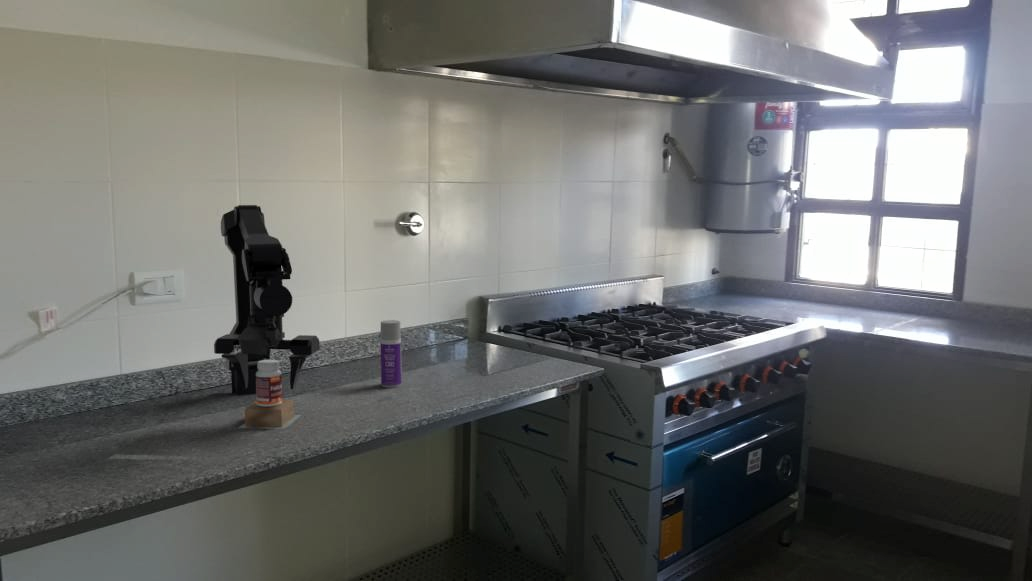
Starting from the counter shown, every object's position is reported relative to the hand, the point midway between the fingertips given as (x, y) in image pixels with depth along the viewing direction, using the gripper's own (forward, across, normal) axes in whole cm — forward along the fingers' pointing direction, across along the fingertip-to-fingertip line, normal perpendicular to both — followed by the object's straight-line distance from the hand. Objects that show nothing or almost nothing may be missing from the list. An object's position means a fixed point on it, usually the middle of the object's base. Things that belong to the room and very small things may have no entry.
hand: (269, 388), depth 153 cm
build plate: (+7, +3, +1) cm, 8 cm away
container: (+7, +17, +32) cm, 37 cm away
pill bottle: (+3, 0, 0) cm, 3 cm away
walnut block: (+6, 0, 0) cm, 6 cm away
